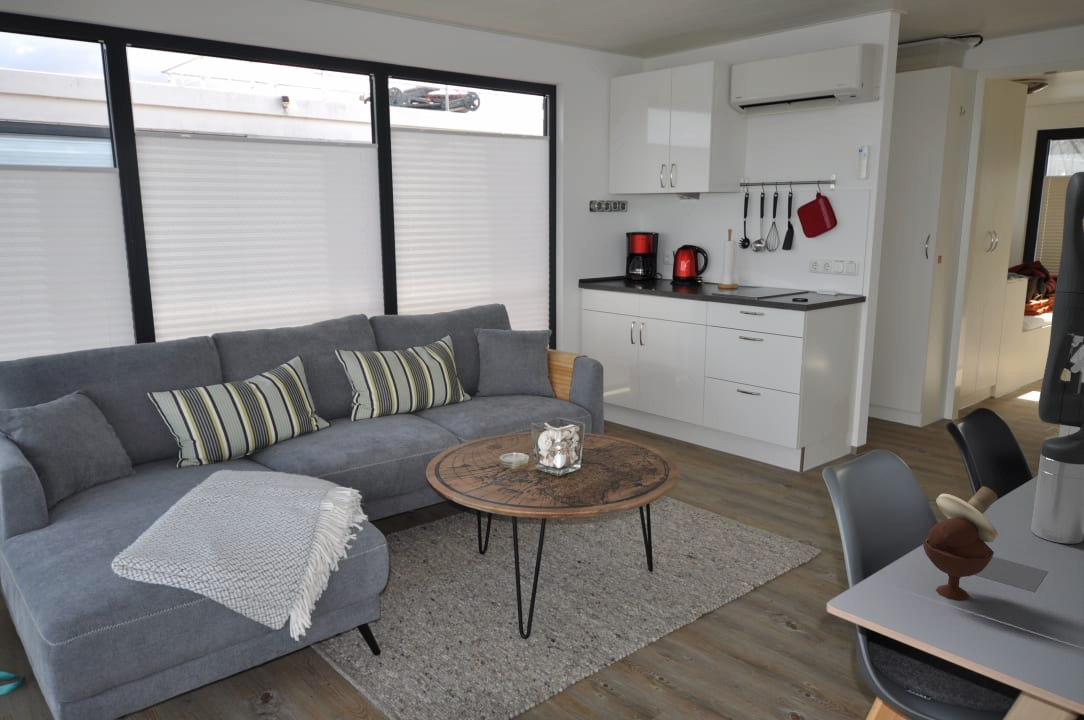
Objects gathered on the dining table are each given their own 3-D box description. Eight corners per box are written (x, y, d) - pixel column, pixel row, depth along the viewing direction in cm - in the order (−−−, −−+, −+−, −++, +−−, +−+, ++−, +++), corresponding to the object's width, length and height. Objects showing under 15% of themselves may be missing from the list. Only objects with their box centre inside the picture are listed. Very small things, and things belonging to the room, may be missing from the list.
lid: (940, 517, 143) (964, 491, 144) (997, 551, 135) (1021, 524, 135) (932, 487, 136) (957, 460, 137) (992, 522, 127) (1018, 493, 128)
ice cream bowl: (1002, 607, 132) (1012, 526, 130) (944, 612, 131) (953, 530, 128) (959, 578, 143) (968, 503, 140) (905, 583, 141) (912, 507, 138)
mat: (983, 555, 152) (983, 553, 152) (1047, 573, 145) (1048, 571, 145) (966, 574, 145) (966, 572, 144) (1034, 594, 137) (1034, 592, 137)
